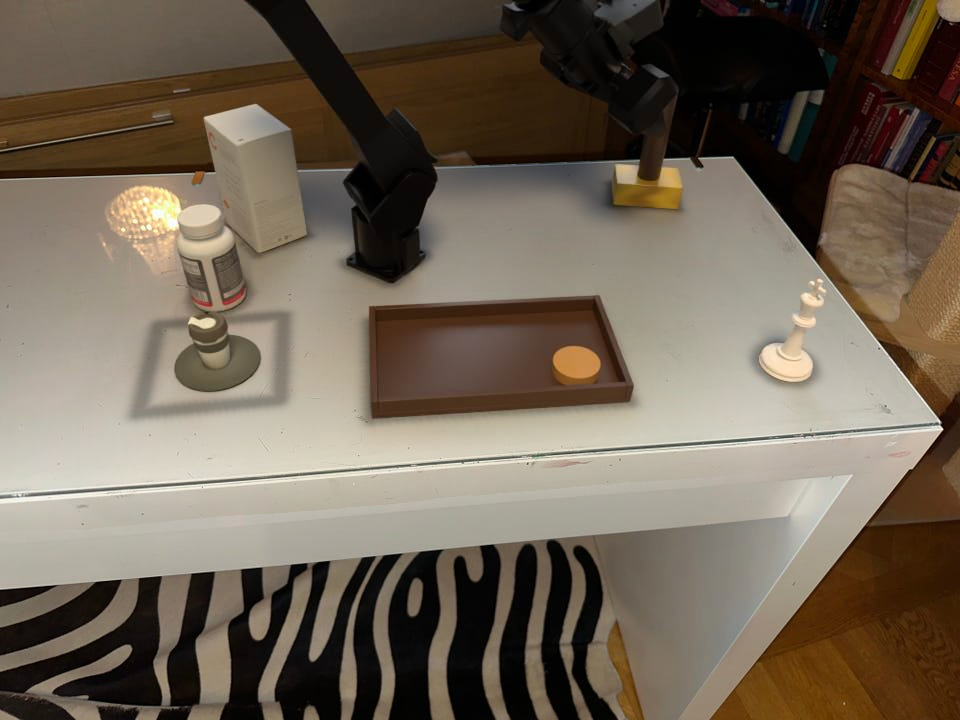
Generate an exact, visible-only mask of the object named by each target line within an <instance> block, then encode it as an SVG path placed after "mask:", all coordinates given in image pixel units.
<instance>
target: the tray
mask: <svg viewBox="0 0 960 720" xmlns="http://www.w3.org/2000/svg"><path fill="white" fill-rule="evenodd" d="M368 327H369V328H368V329H369V331H368V333H369V389H370V390H369V391H370V392H369V393H370V397H369V398H370V410H371V418H372V419H384V418H387V419H388V418H401V417H415V416H416V417H417V416H432V415H446V414H447V415H449V414H461V413H462V414H463V413H478V412H493V411H495V412H496V411H507V410H508V411H511V410H524V409H525V410H527V409H541V408H552V407H553V408H555V407H556V408H557V407H570V406H587V405H602V404H616V403H617V404H618V403H620V404H621V403H630V402H631V400H632V397H633V392H634V389H635V384H634V382H633V379H632V376H631V374H630V372H629V369H628V365H627V363H626V361H625V357H624V355H623V353H622V351H621V348H620V345H619V343H618V340H617V337H616V336H615V333H614V330H613V327H612V325H611V322H610V320H609V317H608V314H607V312H606V308H605V306H604V304H603V300H602V299H601V296H600V294H593V295H575V296H574V295H573V296H554V297H553V296H552V297H533V298H532V297H531V298H530V297H529V298H512V299H494V300H493V299H492V300H491V299H489V300H488V299H487V300H471V301H469V300H468V301H467V300H466V301H449V302H428V303H408V304H387V305H369V306H368ZM568 346H579V347H584V348H587V349H589V350H591V351H592V352H594V353H595V354H596V355H597V356H598V358H599V359H600V363H601V366H600V372H599V376H598V379H597V380H596V381H595V382H594V383H593V384H580V385H564V384H562V383H561V382H559V381H558V380H557V379H556V378H555V377H554V375H553V373H552V362H553V357H554V355H555V353H556V352H557V351H558V350H560V349H562V348H564V347H568Z"/></svg>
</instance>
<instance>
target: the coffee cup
mask: <svg viewBox="0 0 960 720" xmlns="http://www.w3.org/2000/svg"><path fill="white" fill-rule="evenodd" d="M187 326H188V327H187V328H188V335H189V337H190V338H191V340H192V343H191V344H190V345H188V346H187V347H185V348H184V349H183V350H182V351H181V352H180V353H179V354H178V356H177V357H176V360H175V362H174V367H173V369H174V370H173V372H174V375H175V377H176V379H177V380H178V381H179V383H181V385H183V386H184V387H186V388H189V389H191V390H194V391H200V392H219V391H223V390H226V389H229V388H232V387H236V386H237V385H240V384H241V383H242V382H245V381H246V380H247V379H248V378H250V377H251V376H252V375H253V374H254V373H255V371H256V370H257V369H258V367H259V365H260V363H261V351H260V348H259V347H258V346H257V344H255V343H254V342H253V341H252V340H251V339H249V338H246V337H244V336H240V335H236V334H229V325H228V322H227V320H226V318H225V316H224V315H223V314H222V313H220V312H219V311H218V312H214V311H201V312H199V313H196V314H195V315H193V316H191V317H189V321H188V322H187Z"/></svg>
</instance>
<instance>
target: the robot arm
mask: <svg viewBox="0 0 960 720" xmlns="http://www.w3.org/2000/svg"><path fill="white" fill-rule="evenodd" d="M243 1H244V2H245V3H246V4H247V5H248V6H250V7H251V8H252V9H253V10H254V11H255V12H256V13H257V14H259V16H260V17H262V18H263V19H264V20H265V22H266V23H267V24H268V25H269V26H270V28H271V29H272V30H273V32H274V33H275V35H276V36H277V37H278V38H279V40H280V41H281V43H282V44H283V46H284V47H285V48H286V49H287V51H288V52H289V53H290V55H291V56H292V57H293V59H294V60H295V61H296V63H297V64H298V65H299V67H300V68H301V70H302V71H303V72H304V74H305V75H306V76H307V78H308V79H309V81H311V83H312V84H313V85H314V87H315V89H316V90H317V91H318V93H319V94H320V95H321V96H322V97H323V99H324V100H325V102H326V103H327V104H328V106H329V107H330V108H331V109H332V111H333V112H334V114H335V115H336V117H337V118H338V119H339V120H340V122H341V123H342V124H343V126H344V127H345V129H346V131H347V133H348V137H349V139H350V141H351V145H352V147H353V149H354V151H355V153H356V155H357V157H358V160H359V161H358V162H357V163H356V165H354V167H353V168H352V169H351V171H350V172H349V173H348V174H347V175H346V177H345V178H344V179H343V180H342V185H343V187H344V189H345V191H346V192H347V194H348V196H349V198H350V199H352V200H353V202H354V203H355V205H354V206H352V207H351V208H350V212H351V222H352V232H353V243H354V244H353V245H354V252H353V253H352V254H350V255H349V256H348V257H346V258H345V263H346V265H348V266H350V267H353V268H355V269H358V270H359V271H362V272H364V273H367V274H369V275H371V276H373V277H377V278H379V279H380V280H383V281H385V282H387V283H395V282H396V281H397V280H398V279H399V278H401V277H402V276H403V275H404V274H405V273H407V272H408V271H410V270H411V269H412V268H413V267H415V266H416V265H417V264H418V263H419V262H420V261H422V260H423V259H424V258H425V257H426V255H427V254H426V253H427V252H426V250H424V249H423V248H420V247H421V244H420V243H421V240H420V239H421V238H420V229H419V226H420V223H421V221H422V217H423V215H424V211H425V209H426V206H427V203H428V200H429V199H430V197H431V196H432V194H433V193H434V191H435V188H436V184H437V183H438V181H439V177H438V172H437V170H436V168H435V166H434V165H435V164H438V162H439V160H438V158H437V157H436V156H435V155H434V154H433V153H432V152H431V151H430V150H429V149H428V147H427V146H426V145H425V143H424V141H423V138H422V137H421V134H420V132H419V130H418V129H417V128H416V127H415V126H414V125H413V124H412V123H411V122H410V121H409V120H408V119H407V118H406V116H405V115H404V114H403V113H402V112H401V111H400V110H399V109H398V108H397V107H396V106H394V107H393V108H392V110H390V111H389V112H388V114H387V115H385V113H383V112H382V110H381V109H380V107H379V106H378V104H377V102H376V101H375V100H374V98H373V97H372V95H371V94H370V92H369V91H368V89H367V88H366V87H365V85H364V84H363V82H362V81H361V80H360V79H361V78H359V76H358V75H357V74H356V72H355V70H354V69H353V67H352V66H351V65H350V63H349V61H348V60H347V59H346V57H345V56H344V54H343V53H342V51H341V50H340V49H339V47H338V45H337V44H336V42H335V41H334V39H333V38H332V37H331V35H330V34H329V32H328V31H327V29H326V28H325V26H324V25H323V24H322V22H321V21H320V19H319V18H318V17H317V15H316V13H315V12H314V10H313V9H312V8H311V6H310V5H309V3H308V2H307V0H243ZM510 1H512V2H511V3H508V4H506V3H505V4H503V5H502V6H501V10H502V11H501V12H502V13H501V16H500V22H499V26H498V27H499V30H500V31H501V32H502V33H503V34H505V35H506V36H508V37H509V38H510V39H512V40H513V41H515V42H517V43H519V42H521V41H523V38H524V37H526V35H527V34H528V32H530V34H531V35H533V37H534V39H536V40H537V41H538V43H539V44H540V45H541V46H542V47H543V48H542V49H541V50H540V54H539V64H540V65H541V66H542V67H543V69H545V70H546V72H547V73H548V74H550V75H551V76H552V77H554V78H555V79H557V80H558V81H559V82H561V83H562V84H563V85H565V86H566V87H568V88H570V89H573V90H575V91H577V92H580V93H583V94H585V95H586V96H590V97H591V98H594V99H597V100H598V101H599V100H600V101H601V102H604V103H607V104H608V107H607V114H608V115H609V116H610V117H611V118H612V119H613V120H614V121H615V122H616V123H617V125H619V126H621V128H623V129H624V130H626V131H627V132H628V133H630V134H631V135H633V136H638V135H649V136H653V137H657V138H661V137H662V136H663V135H664V134H665V133H666V131H667V129H666V124H665V119H664V114H663V109H664V108H665V107H666V106H667V105H668V104H669V103H670V102H671V100H672V99H673V98H674V97H675V96H676V95H677V94H678V95H679V91H678V90H679V86H678V85H677V83H676V82H675V80H674V79H673V78H672V76H671V75H669V74H668V73H666V72H664V70H661V69H660V68H658V67H656V66H655V65H653V64H652V63H648V64H641V65H639V66H638V67H637V68H636V69H635V70H633V69H632V68H630V67H628V66H627V65H625V64H623V62H625V63H626V62H628V61H629V60H630V58H632V56H633V55H634V54H635V51H634V49H633V48H632V45H634V44H637V43H638V42H640V41H642V40H643V39H644V38H646V37H647V36H649V35H651V34H652V33H653V32H657V31H659V30H660V29H662V28H663V27H664V18H663V13H662V9H661V2H660V0H596V6H597V8H596V10H595V11H593V10H592V9H591V7H590V6H589V4H588V3H587V2H586V0H510ZM678 95H677V96H678ZM433 164H434V165H433Z"/></svg>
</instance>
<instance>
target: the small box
mask: <svg viewBox="0 0 960 720" xmlns="http://www.w3.org/2000/svg"><path fill="white" fill-rule="evenodd" d="M203 122H204V127H205V132H206V137H207V140H208V146H209V150H210V154H211V159H212V163H213V168H214V173H215V177H216V181H217V186H218V189H219V195H220V199H221V204H222V207H223V212H224V217H225V221H226V224H227V225H228V226H229V227H230V228H231V229H232V230H233V231H234V232H235V233H236V234H237V235H238V236H240V237H241V239H243V241H244V242H246V243H247V244H248V245H249V246H250V247H251V248H252V249H253V250H254V251H255V252H256V253H257V254H261V253H264V252H266V251H269V250H271V249H272V250H273V249H274V248H277V247H280V246H282V245H285V244H287V243H290V242H294V241H296V240H298V239H301V238H303V237H306V236H307V235H308V231H307V224H306V217H305V211H304V204H303V197H302V192H301V191H302V190H301V185H300V184H301V183H300V178H299V172H298V164H297V158H296V157H297V156H296V152H295V145H294V139H293V132H292V128H290V127H289V126H287V125H286V124H285V123H283V122H282V121H281V120H279V119H278V118H276V117H275V116H274V115H272V114H271V113H270V112H268V111H267V110H266V109H264V108H263V107H262V106H260V105H259V104H257V103H253V104H249V105H245V106H241V107H238V108H233V109H230V110H225V111H222V112H218V113H214V114H211V115H205V116H204V117H203Z"/></svg>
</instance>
